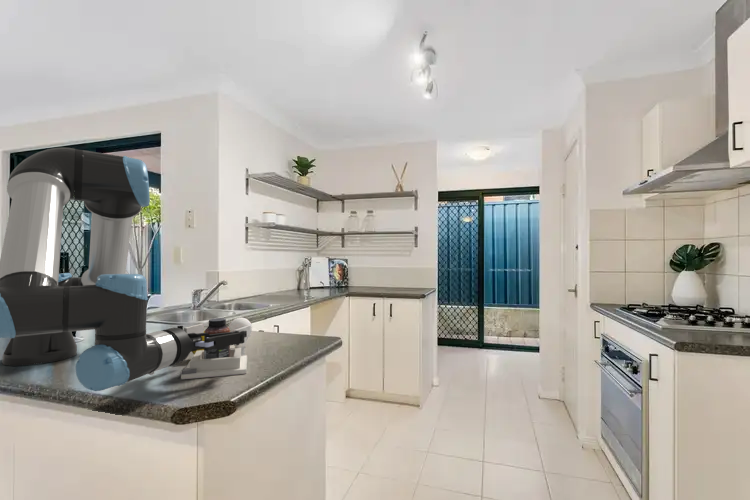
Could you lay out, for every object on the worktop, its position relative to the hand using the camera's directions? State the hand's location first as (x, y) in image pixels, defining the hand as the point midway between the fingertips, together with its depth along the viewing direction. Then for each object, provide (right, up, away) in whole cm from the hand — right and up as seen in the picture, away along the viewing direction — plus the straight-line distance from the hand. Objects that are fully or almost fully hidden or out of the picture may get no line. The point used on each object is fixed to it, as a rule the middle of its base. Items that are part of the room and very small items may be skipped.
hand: (225, 329), depth 95 cm
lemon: (-9, -9, +5) cm, 14 cm away
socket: (-1, -9, -4) cm, 10 cm away
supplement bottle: (-1, -8, -4) cm, 9 cm away
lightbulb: (+1, -9, +8) cm, 12 cm away
